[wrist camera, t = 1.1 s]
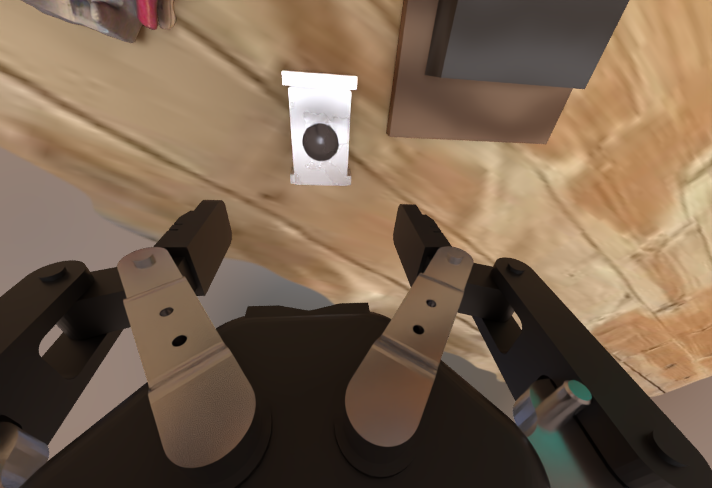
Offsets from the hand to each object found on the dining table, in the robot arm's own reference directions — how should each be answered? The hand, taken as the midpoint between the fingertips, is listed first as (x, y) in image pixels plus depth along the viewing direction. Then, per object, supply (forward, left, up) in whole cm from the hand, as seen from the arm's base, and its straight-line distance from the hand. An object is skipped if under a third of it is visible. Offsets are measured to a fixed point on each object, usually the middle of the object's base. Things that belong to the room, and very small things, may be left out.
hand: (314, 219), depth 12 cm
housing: (0, 0, -18) cm, 18 cm away
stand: (-10, +16, -18) cm, 26 cm away
